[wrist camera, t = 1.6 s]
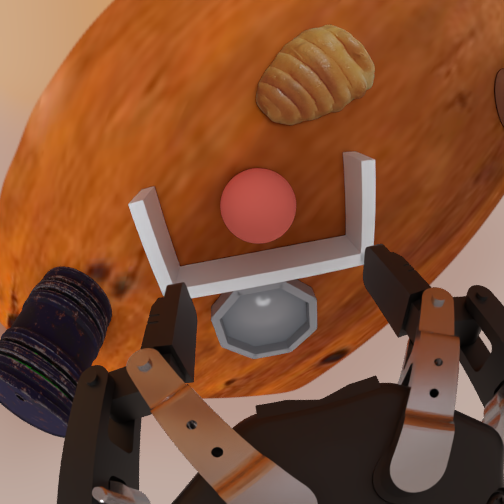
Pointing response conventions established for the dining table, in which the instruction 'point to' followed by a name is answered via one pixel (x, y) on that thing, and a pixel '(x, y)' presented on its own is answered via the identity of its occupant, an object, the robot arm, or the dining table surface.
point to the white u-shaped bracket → (268, 261)
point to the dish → (265, 318)
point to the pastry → (315, 76)
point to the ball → (258, 205)
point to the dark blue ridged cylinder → (52, 348)
